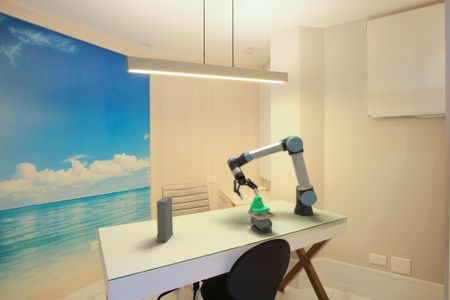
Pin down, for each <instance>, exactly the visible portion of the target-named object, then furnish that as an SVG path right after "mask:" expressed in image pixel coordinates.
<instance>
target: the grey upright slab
mask: <svg viewBox="0 0 450 300" xmlns="http://www.w3.org/2000/svg"><path fill="white" fill-rule="evenodd" d="M156 220H157V221H156V222H157V224H156V225H157V234H156V243H167V242H168V241H169V240H170V239H171V238H172V236H173V235H174V229H173V224H174V223H173V197H172V196H163V197H162V198H160V199H158V200H157V201H156Z"/></svg>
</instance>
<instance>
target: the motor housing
mask: <svg viewBox="0 0 450 300" xmlns="http://www.w3.org/2000/svg"><path fill="white" fill-rule="evenodd" d="M247 214H248V215H249V216H250V223H251V224H252V225H250V229H251V230H253V231H254V232H255V233H256V232H257V233H256V234H258V235H262V233H263V234H269V233H272V232H273V229H272V228H273V222H272V220H271V219H276V214H275V213H273V212H271V211H266V213H263V214H260V213H255V212H252V211H250V210H247Z"/></svg>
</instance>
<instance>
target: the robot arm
mask: <svg viewBox="0 0 450 300" xmlns="http://www.w3.org/2000/svg"><path fill="white" fill-rule="evenodd" d="M280 152H282V153H283V152H287V153H288V154H287V155H288V156H290V158H291V161H292V165H293V168H294V173H295V176H296V180H297V184H298V185H296V186H295V207H294V209H293V213H294V214H295V215H296V216H301V217H302V216H306V217H310V216H313V215H314V210H313V207H312V206H314V205H315V204H316V203H317V200H318V196H317V193H316V192H315V189H314V186H313V185H312V184H311V181H310V179H309V174H308V171H307V166H306V162H305V159H304V152H305V150H304V141H303V139H302V138H301V137H299V136H297V135H290V136H287V137H285V138H282V139H280V140H278V142H276V143H273V144H269V145H266V146H263V147H262V146H261V147H260V148H256V149H253V150H251V151H246V152H243V153H241V154H240V155H239V156H238V157H233V156H232V157H230V158H228V159H227V161H226V163H227V165H228V166H227V167H228V168H229V169H230V171H231V174H232V175H233V178H234V179H233V193H235V194H237V196H238V197H239V198H240V201H243V200H244V196H243V194H242V192H241V190H240V189H241V186H242V187H243V186H247V187H248V188H250V189H251V190H252V191H253V193H254V195H255V196H259V197H260V194H259V190H258V188H259V187H258V185H257V184H256V183H254V182H253V181H252V180H251V178H246V176H245V174H244V172H243V170H242V168H241V167H243V166H245V165H246V164H248V163H250V162H252V161H254V160H257V159H261V158H263V157H267V156H270V155H273V154H276V153H280ZM237 184H238V185H237Z"/></svg>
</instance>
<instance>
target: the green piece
mask: <svg viewBox="0 0 450 300" xmlns="http://www.w3.org/2000/svg"><path fill="white" fill-rule="evenodd" d="M270 209H271V208H270V207H268V206H266V205H265V203H264V202H263V198H262V197H261V196H260V195H259V196H256V195H255V197H254V198H253V200H252V201H251V203H250V206H249V210H250V211H252V212H255V213H260V214H263V213H266V211H269V212H271V210H270Z"/></svg>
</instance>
